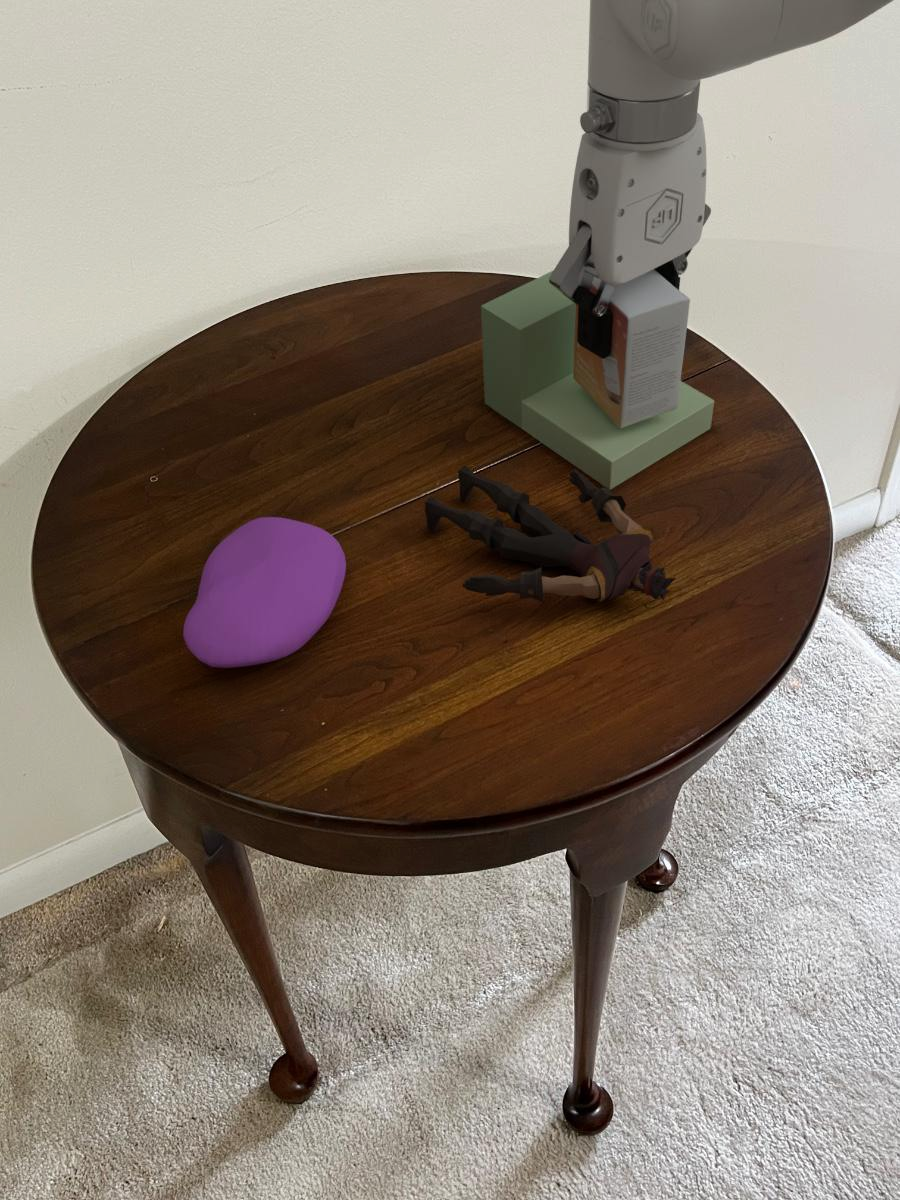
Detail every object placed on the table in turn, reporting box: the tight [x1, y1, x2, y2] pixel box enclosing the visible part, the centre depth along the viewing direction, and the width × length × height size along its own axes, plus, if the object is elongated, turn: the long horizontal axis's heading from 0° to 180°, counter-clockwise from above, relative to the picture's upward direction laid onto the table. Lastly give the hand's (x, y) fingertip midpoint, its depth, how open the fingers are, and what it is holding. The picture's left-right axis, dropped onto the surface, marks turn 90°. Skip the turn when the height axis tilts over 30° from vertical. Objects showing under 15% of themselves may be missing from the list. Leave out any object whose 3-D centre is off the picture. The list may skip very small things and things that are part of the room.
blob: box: [182, 516, 347, 669], centre depth 82 cm, size 14×11×5 cm
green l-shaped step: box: [480, 269, 715, 491], centre depth 95 cm, size 16×12×10 cm
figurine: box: [424, 465, 676, 604], centre depth 85 cm, size 15×4×20 cm
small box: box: [573, 269, 691, 428], centre depth 90 cm, size 8×6×10 cm
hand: (627, 330), depth 90 cm, fingers closed on small box, 6 cm apart
